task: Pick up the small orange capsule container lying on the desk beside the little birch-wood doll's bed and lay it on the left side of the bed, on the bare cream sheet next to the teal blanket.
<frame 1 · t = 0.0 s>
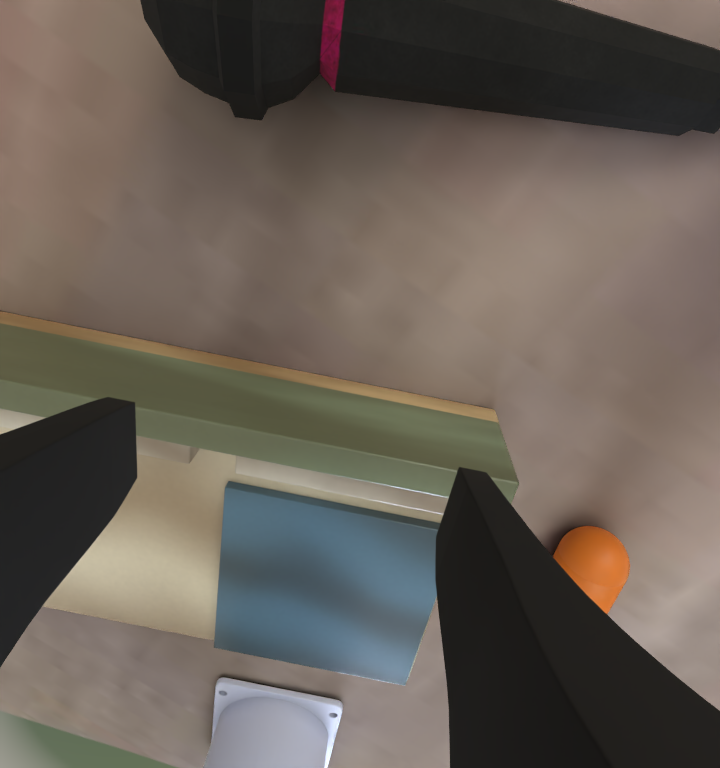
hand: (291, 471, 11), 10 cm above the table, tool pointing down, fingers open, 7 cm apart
microphone: (477, 86, 16), on the table
orange capsule container: (560, 578, 25), on the table
bed: (232, 497, 24), on the table
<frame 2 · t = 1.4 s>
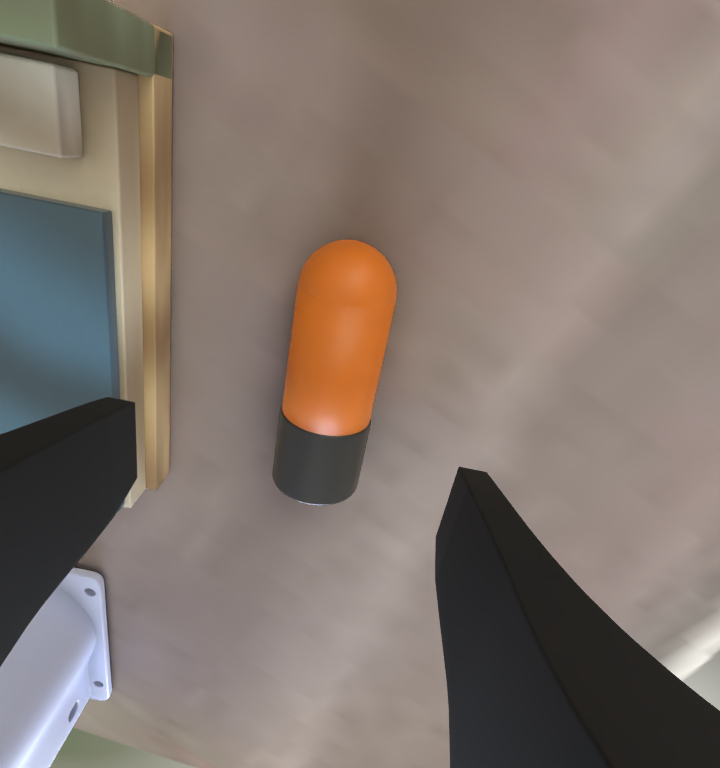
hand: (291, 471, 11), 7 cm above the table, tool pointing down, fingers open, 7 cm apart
orange capsule container: (336, 356, 17), on the table
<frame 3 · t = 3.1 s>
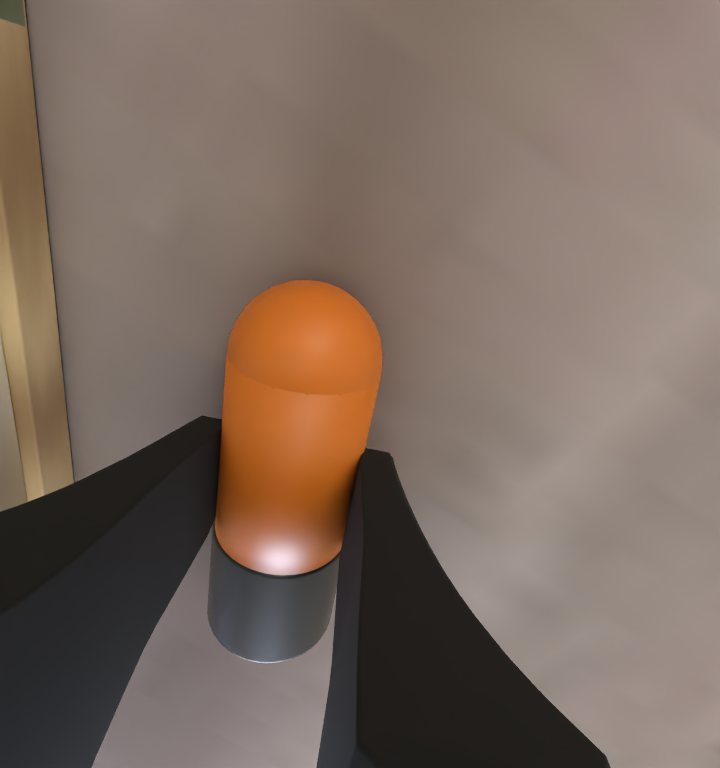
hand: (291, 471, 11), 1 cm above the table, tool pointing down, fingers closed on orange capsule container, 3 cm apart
orange capsule container: (302, 438, 12), on the table, touching gripper
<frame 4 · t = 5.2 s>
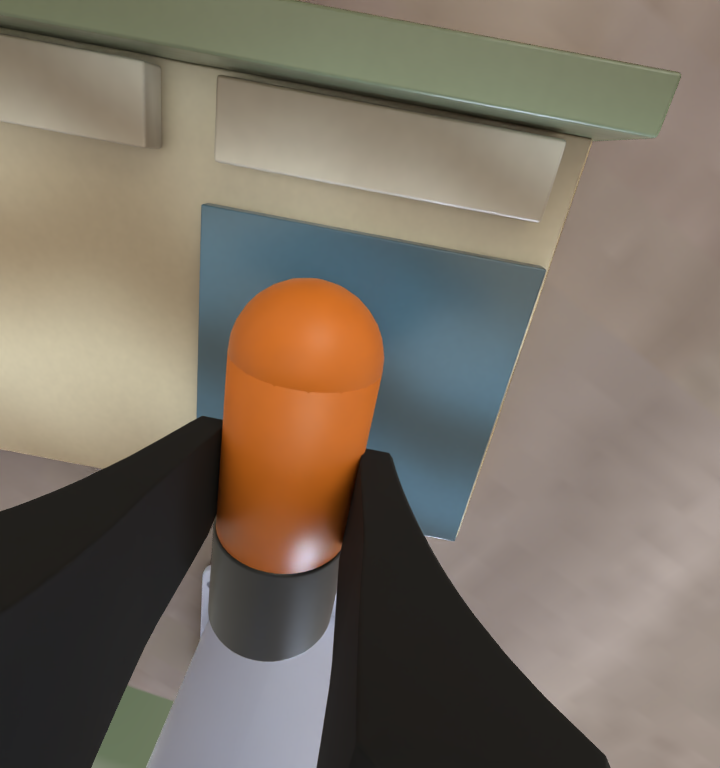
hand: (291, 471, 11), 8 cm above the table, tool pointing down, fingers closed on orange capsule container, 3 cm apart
orange capsule container: (303, 437, 12), point 7 cm above the table, touching gripper
bed: (218, 280, 18), on the table
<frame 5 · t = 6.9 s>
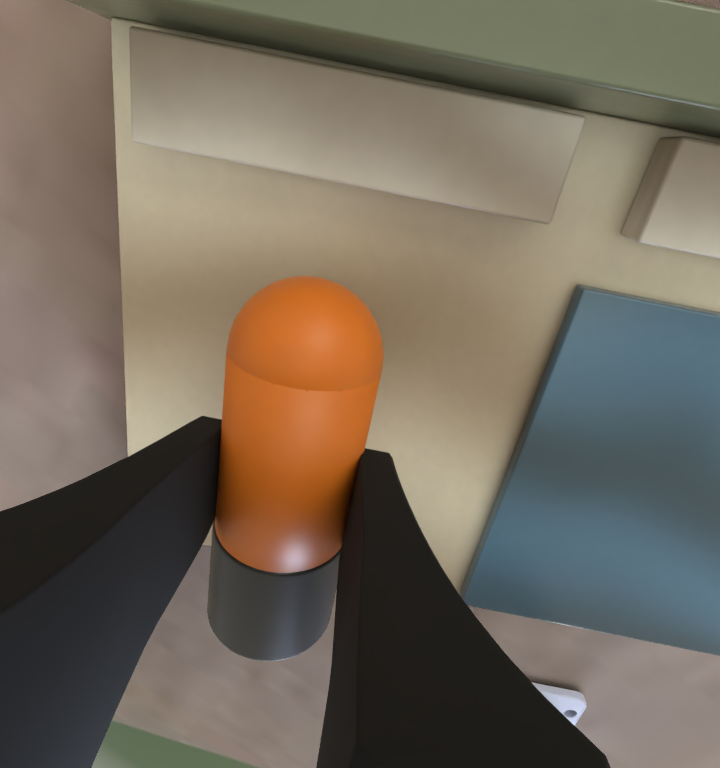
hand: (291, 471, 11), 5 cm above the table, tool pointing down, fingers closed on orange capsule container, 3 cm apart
orange capsule container: (302, 436, 12), point 4 cm above the table, touching gripper
bed: (502, 357, 15), on the table
when the fingers open (4 cm above the table, at t = 7.7 s): orange capsule container stays where it is, resting on bed.
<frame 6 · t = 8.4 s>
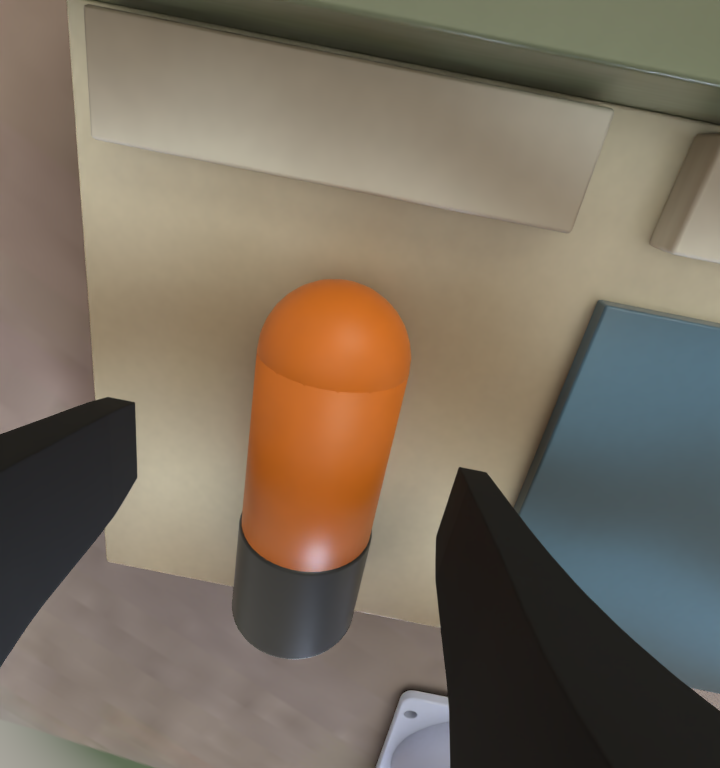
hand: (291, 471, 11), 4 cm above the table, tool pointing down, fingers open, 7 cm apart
orange capsule container: (303, 434, 12), point 3 cm above the table, tilted 21°, touching bed
bed: (511, 375, 14), on the table
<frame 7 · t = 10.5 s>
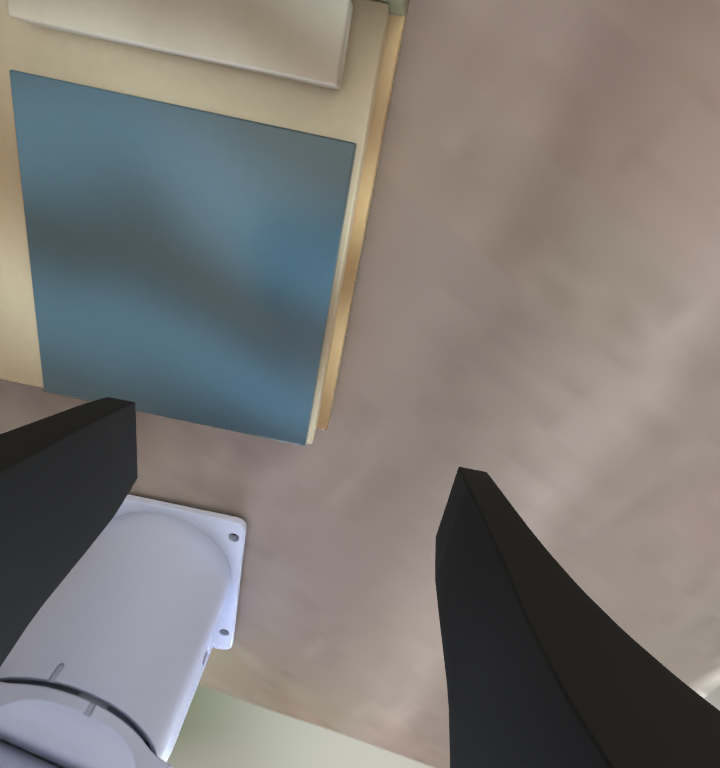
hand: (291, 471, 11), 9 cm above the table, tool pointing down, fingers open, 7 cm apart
bed: (66, 175, 18), on the table
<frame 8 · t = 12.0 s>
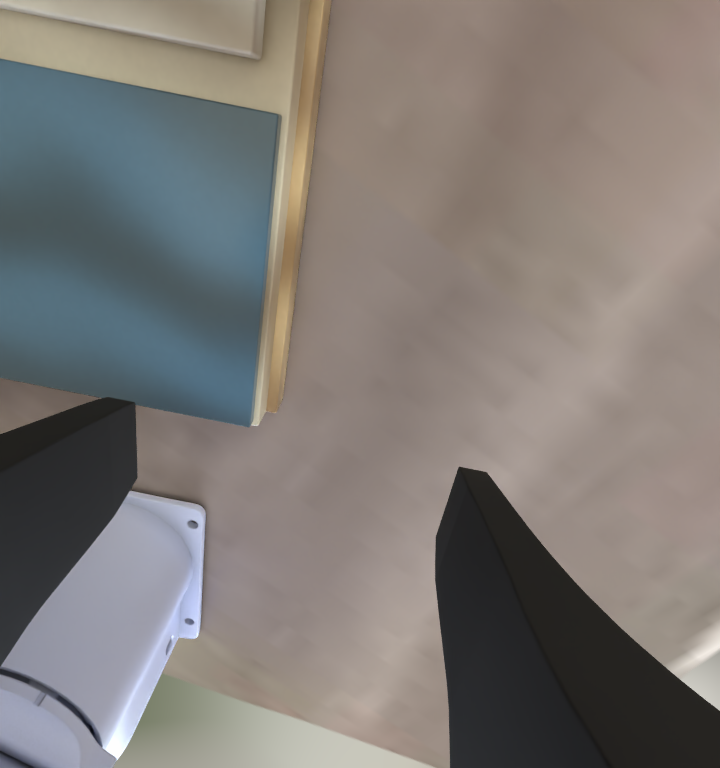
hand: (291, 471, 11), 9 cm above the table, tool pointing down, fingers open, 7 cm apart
bed: (4, 156, 17), on the table
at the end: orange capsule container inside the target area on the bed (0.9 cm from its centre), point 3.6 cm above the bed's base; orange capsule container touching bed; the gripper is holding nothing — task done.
